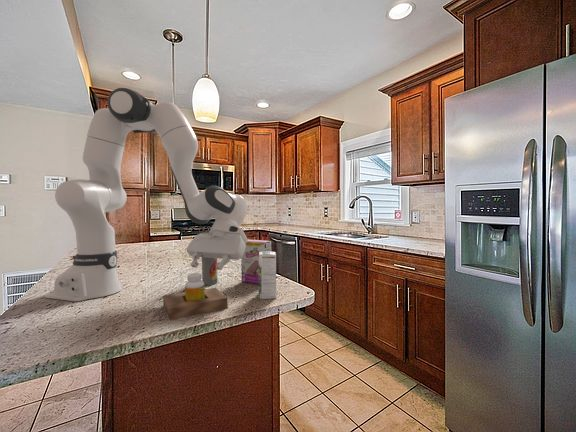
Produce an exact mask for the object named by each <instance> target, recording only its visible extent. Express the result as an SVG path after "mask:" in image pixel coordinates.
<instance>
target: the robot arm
mask: <svg viewBox="0 0 576 432" xmlns="http://www.w3.org/2000/svg"><path fill="white" fill-rule="evenodd" d="M106 100H107V103H106V104H107V107H103V108H99V109H97V110H96V111H95V112H94V114H93V116H92V119H91V121H90V124H89V126H88V130H87V133H86V137H85V138H86V140H85V144H84V149H83V152H82V153H83V154H82V162H83V163H84V165H86V167H87V170H88V175H89V179H84V178H83V179H82V178H81V179H80V178H78V179H71V180H65V181H63V182H61V183H59V184H58V186H57V188H56V189H55V191H54V192H55V193H54V199H55V202H56V204H57V205H58V206H59V208H60V209H62V210H63V211H64V212H65V213H67V215H68V217H69V218H70V220H71V223H72V225H73V227H74V231H75V238H76V254H75V255H72V256H70V259H69V261H73V262H72V265H71V266H69V267H68V268H67V269H66V270H65V271H63V272H62V273H61V274H60V275H59V274H58V276H57V277H56V278H55V280H54V285H53V287H54V288H53V289H54V290H51V291H49V292H47V293H46V294H45V296H44V298H45V299H53V300H54V299H55V300H62V301H69V302H70V301H71V302H81V301H85V300H89V299H96V298H102V297H106V296H107V297H108V296H110V295H114V294H115V293H119V292H120V291H122V289H123V287H122V285H121V281H120V277H119V273H118V265H117V264H118V251H117V250H116V233H115V232H116V231H115V229H114V227H113V225H111V224H110V223H109V221H108V219H107V217H106V214H105V213H111V212H114V211H117V210H120V209H121V208H123V207H124V206H125V204H126V203H127V199H128V196H127V192H126V190H125V189H124V188H123V184H122V177H121V176H122V175H121V170H122V168H121V167H122V161H123V156H124V151H125V146H126V143H127V142H126V140H127V137H128V134H129V133H131V132H133V133H134V134H140V133H146V134H147V133H148V134H149V133H155V132H156V133H157V135H158V137H159V139H160V140H161V142H162V145H163V146H164V149H165V151H166V155H167V156H168V157H167V158H168V161H169V165H170V170H171V172H172V175H173V178H174V180H175V183H176V185H177V188H178V190H179V192H180V195H181V197H182V200H183V203H184V210H185V214H186V217H188V219H189V220H190V221H191V222H193V223H195V224H197V225H204V224H208V223H209V222H210V221H211V220H212V219H213V218H214V219H215V220H214V222H213V224H212V225H211V228H210V229H209V231H208V232H209V233H205V232H200V233H198V234H196V235H195V236H194V237H193V238H192V239H191V241H189V243H188V245H187V247H186V252H187V253H188V255H190V256H191V257H192V261H191V263H190V267H192V268H196V269H197V268H198V266H199V265H200V262H198V260H199V259H200V258H202V257H206V258H217V259H221V260H220V262H219V261H217V265H216V268H217V271H218V270H219V271H222V270H223V269H224V267H225V266H226V265H227V264H228V263H229V262H230V261H232V260H233V261H234V260H235V261H239V260H241V258H242V256H243V254H244V251H245V248H246V243H247V241H248V240H249V239H248V237H247V235H246V234H245V232H244V230H243V229H242V228H241V227H240V226H241V225H242V224H243V222H244V220H245V217H246V215H247V212H248V202H247V200H246V199H245V198H244V197H243V196H242V195H239V194H237V193H236V194H235V193H233V194H232V193H229V192H227V191H226V190H225V189H224V188H222V187H221V186H218V185H210V186H208V187H207V188H206V189H204V190H203V191H201V192H200V191H199V188H198V186H197V184H196V181H195V179H194V177H193V171H192V167H193V164H194V161H195V159H196V155H197V153H198V152H199V151H198V150H199V142H198V138H197V135H196V133H195V132H194V129H193V127H192V126H191V124H190V122H189V120H188V119H187V118H186V115H184V113H183V112H182V111H181V110H180V108H179V106H177V104H175V103H173V102H170V101H162V102H160V103H157V104H154V103H152V102H151V101H150V99H148V98H147V97H145V96H144V95H142V94H140V93H139V92H138V91H136V90H133V89H131V88H127V87H117V88H116V89H113V90H112V91H111V92H110V93H109V95H108V97H107V99H106Z"/></svg>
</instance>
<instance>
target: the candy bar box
mask: <svg viewBox="0 0 576 432" xmlns="http://www.w3.org/2000/svg"><path fill="white" fill-rule="evenodd" d="M247 240H248V241H247V243H246V248H245V251H244V254H243V256H242V258H241V259H240V261H241V283H247V284H253V285H254V284H255V285H258V268H259V252H265V251H270V252H272V241H271V240H263V239H262V240H259V239H247Z"/></svg>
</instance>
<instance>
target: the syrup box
mask: <svg viewBox="0 0 576 432" xmlns="http://www.w3.org/2000/svg"><path fill="white" fill-rule="evenodd" d="M257 285H258V291H257V292H258V293H257V295H258V300H268V299H269V300H270V299H271V300H272V299H273V300H274V299H275V300H276V298H277V252H276V251H271V252H270V251H265V252H259V268H258V284H257Z"/></svg>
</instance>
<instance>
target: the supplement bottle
mask: <svg viewBox="0 0 576 432" xmlns="http://www.w3.org/2000/svg"><path fill="white" fill-rule="evenodd" d="M186 280H187V282H185V284H184V287H185V288H184V289H185V292H184V293H185V296H186V302H190V301H195V300H201V299H205V293H204V289H205V285H204V282H203V281H202V273H197V272H196V273H189V274H188V275H187V279H186Z"/></svg>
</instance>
